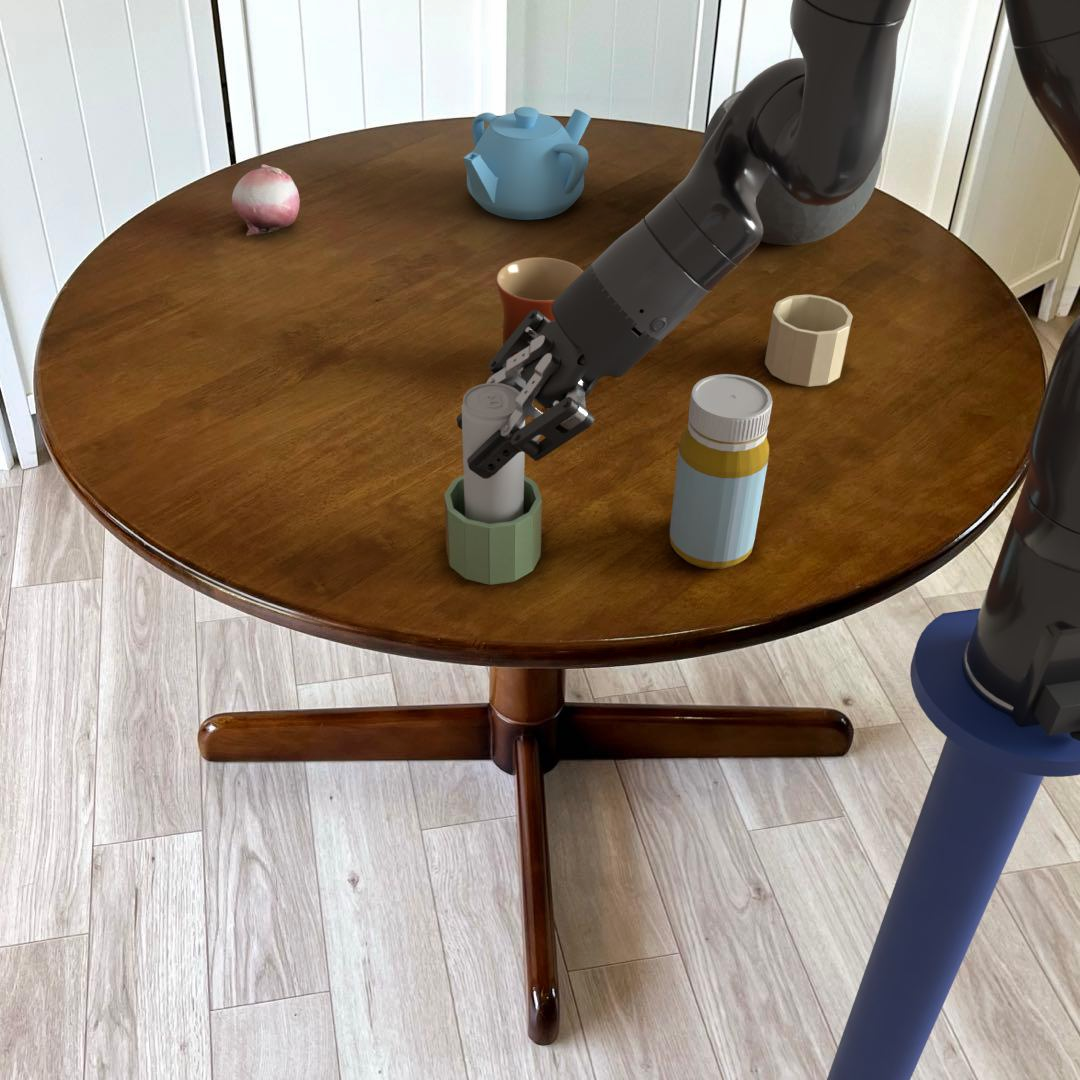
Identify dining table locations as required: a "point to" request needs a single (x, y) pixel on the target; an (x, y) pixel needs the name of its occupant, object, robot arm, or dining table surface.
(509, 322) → the mug
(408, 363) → the dining table surface
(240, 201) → the onion
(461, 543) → the holder
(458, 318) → the dining table surface
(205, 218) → the dining table surface
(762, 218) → the bowl
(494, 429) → the beverage can
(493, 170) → the teapot
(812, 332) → the holder
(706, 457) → the bottle
